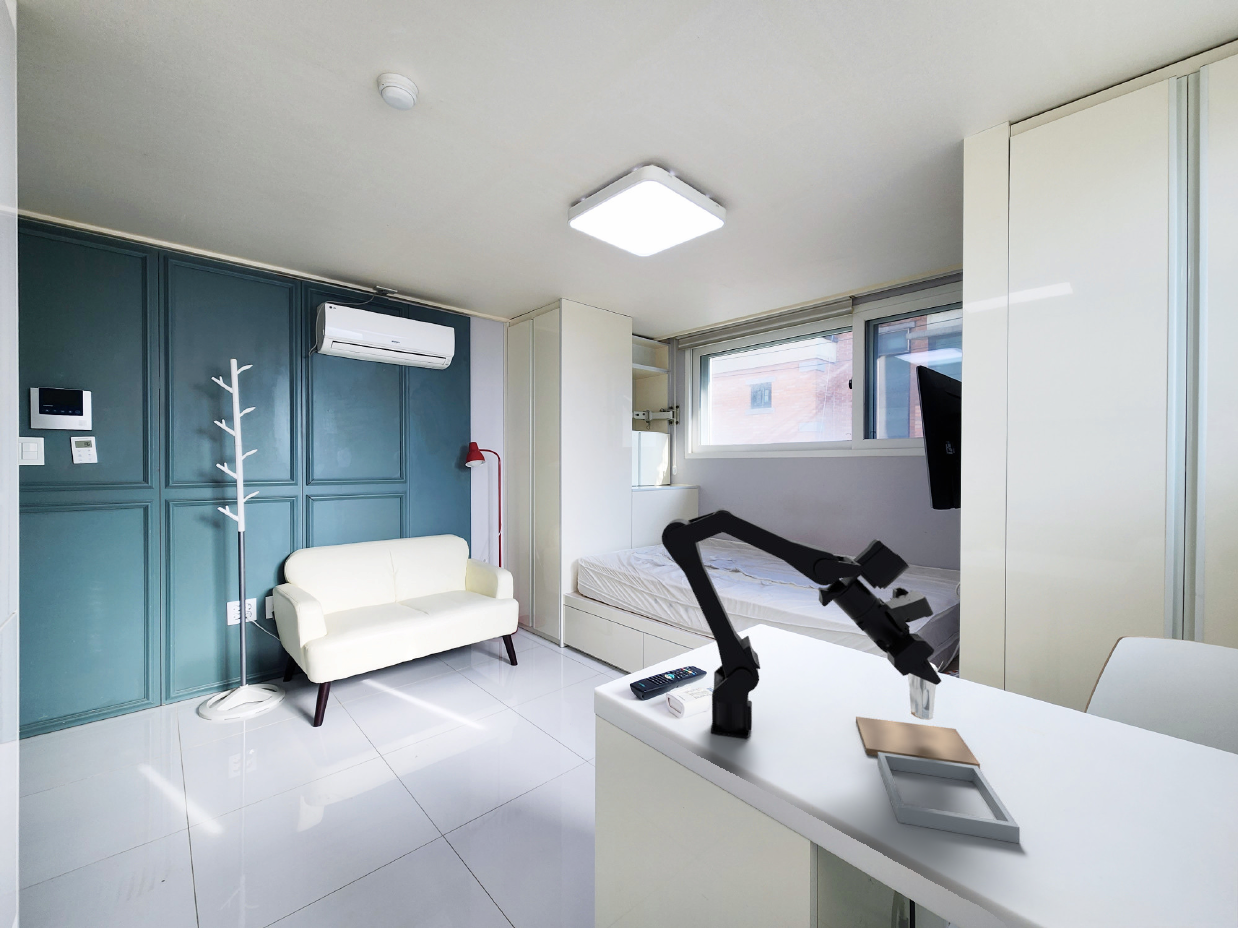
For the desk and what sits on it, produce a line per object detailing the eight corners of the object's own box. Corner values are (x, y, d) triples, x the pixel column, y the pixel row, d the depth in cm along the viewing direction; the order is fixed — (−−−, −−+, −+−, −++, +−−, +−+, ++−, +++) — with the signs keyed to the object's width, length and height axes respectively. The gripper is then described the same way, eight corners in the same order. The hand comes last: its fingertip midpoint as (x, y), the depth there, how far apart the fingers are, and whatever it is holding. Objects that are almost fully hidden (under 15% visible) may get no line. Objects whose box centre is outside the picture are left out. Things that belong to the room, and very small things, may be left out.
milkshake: (938, 726, 82) (939, 664, 82) (902, 714, 86) (902, 655, 86) (946, 717, 86) (947, 657, 85) (911, 705, 89) (911, 648, 89)
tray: (898, 821, 68) (898, 806, 68) (877, 764, 81) (877, 751, 81) (1019, 843, 64) (1019, 827, 64) (977, 779, 77) (977, 765, 77)
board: (866, 754, 84) (866, 747, 84) (855, 721, 94) (855, 716, 94) (979, 770, 79) (979, 763, 79) (955, 734, 90) (955, 728, 90)
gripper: (919, 588, 78) (1001, 667, 76) (882, 565, 96) (947, 628, 94) (863, 636, 79) (941, 714, 77) (837, 604, 98) (900, 667, 95)
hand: (933, 676), depth 86 cm, fingers closed on milkshake, 4 cm apart
